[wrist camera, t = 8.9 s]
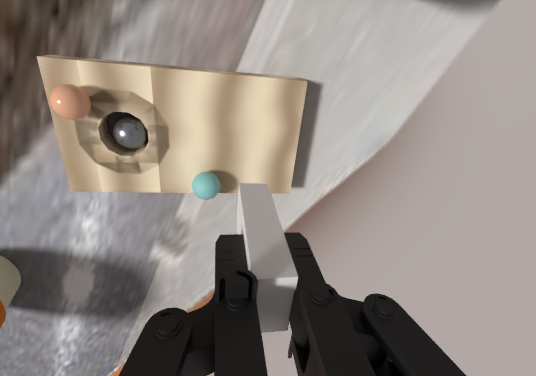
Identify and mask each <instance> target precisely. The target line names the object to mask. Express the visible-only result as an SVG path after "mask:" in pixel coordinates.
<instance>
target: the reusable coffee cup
mask: <svg viewBox="0 0 536 376" xmlns="http://www.w3.org/2000/svg"><path fill="white" fill-rule="evenodd" d="M20 284H21V275H20V273H19V271H18V269H17V268H16V267H15V265H14V264H13V263H11V262H10V261H9V260H8V259H6V258H5V257H3V256H1V255H0V328H1V326H2V324H3V323H4V321H5V316H6V312H5V311H6V309H7V308H8V306H9V304H10V302H11V301H12V299H13V297H14V295H15V293H16V292H17V290H18V288H19V286H20Z"/></svg>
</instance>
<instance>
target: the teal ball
mask: <svg viewBox="0 0 536 376" xmlns="http://www.w3.org/2000/svg"><path fill="white" fill-rule="evenodd" d="M192 190H193V192H194V194H195V195H196V196H197V197H199V198H201V199H205V200H208V199H211V198H213V197H215V196H216V195H217V194H218V192H219V190H220V181H219V179H218V178H217V176H216V175H214V174H213V173H210V172H202V173H199V174H198V175H196V176H195V178H194V179H193V181H192Z"/></svg>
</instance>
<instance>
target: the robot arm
mask: <svg viewBox="0 0 536 376" xmlns="http://www.w3.org/2000/svg"><path fill="white" fill-rule="evenodd" d="M289 321H290V325H291V329H292V336H291V341H290V346H289V350H288V358H291V357H292V352H293V356H294V360H295V364H296V368H297V373H298V376H466V375H465V374H464V373H463V372H462V371H461V370H460V369H459V368H458V367H457V365H456V364H455V363H454V362H453V361H452V360H451V359H450V358H449V357H448V356H447V355H446V354H445V353H444V352H443V351H442V350H441V348H440V347H439V346H438V345H437V344H436V343H435V342H434V341H433V340H432V339H431V338H430V337H429V336H428V335H427V334H426V333H425V332H424V330H422V328H421V327H419V325H418V324H417V323H416V322H415V321H414V320H413V319H412V318H411V317H410V316H409V315H408V314H407V313H406V311H405V310H404V309H403V308H402V307H401V306H400V305H399V304H398V303H397V302H395V301H394V300H393V299H391V298H389V297H387V296H385V295H381V294H370V295H369V296H367V297H366V298H365V300H364V302H361V301H357V300H352V299H348V298H345V297H341V296H340V295H338V293H337V292H336V290H335V289H334V288H332V287H331V286H330V285H329V284H326V282H325V280H324V278H323V276H322V273H321V271H320V269H319V266H318V264H317V262H316V260H315V257H314V256H313V253H312V251H311V249H310V246H309V244H308V241H307V239H306V238H305V237H303V236H302V235H301V234H300V233H284V232H283V229H282V226H281V223H280V220H279V217H278V214H277V211H276V208H275V205H274V202H273V199H272V196H271V193H270V190H269V187H268V184H261V183H239V192H238V210H237V235H220V236H219V238H218V240H217V241H216V248H215V293H214V295H213V298H212V299H211V300H210V301H209V303H207V304H206V305H205V306H203V307H201V308H199V309H197V310H194V311H192V312H189V313H187V312H186V311H185V310H182V309H179V308H167V309H164V310H161V311H159V312H157V313H156V314H154V315H153V316H152V317H151V318H150V319H149V320H148V322H147V323H146V324H145V326H144V328H143V330H142V332H141V334H140V336H139V338H138V340H137V342H136V344H135V346H134V347H133V349H132V351H131V353H130V355H129V357H128V359H127V361H126V363H125V365H124V367H123V369H122V371H121V372H120V374H119V376H207V375H209V374H211V373H213V372H214V376H268V375H267V368H266V362H265V355H264V348H263V342H262V335H261V333H262V332H274V331H285V330H288V325H289Z"/></svg>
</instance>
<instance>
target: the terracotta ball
mask: <svg viewBox="0 0 536 376" xmlns="http://www.w3.org/2000/svg"><path fill="white" fill-rule="evenodd" d="M49 103H50V106H51V108H52V109H53V111H54V112H55V113H56V114H57V115H59V116H61V117H62V118H65V119H68V120H79V119H82V118H84V117H85V116H86V115H88V113H89V112H90V109H91V101H90V98H89V96H88V95H87V93H86V92H85V91H84V90H83V89H81V88H80V87H78V86H75V85H72V84H61V85H58V86H56V87H55V88H53V89H52V91H51V92H50V95H49Z"/></svg>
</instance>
